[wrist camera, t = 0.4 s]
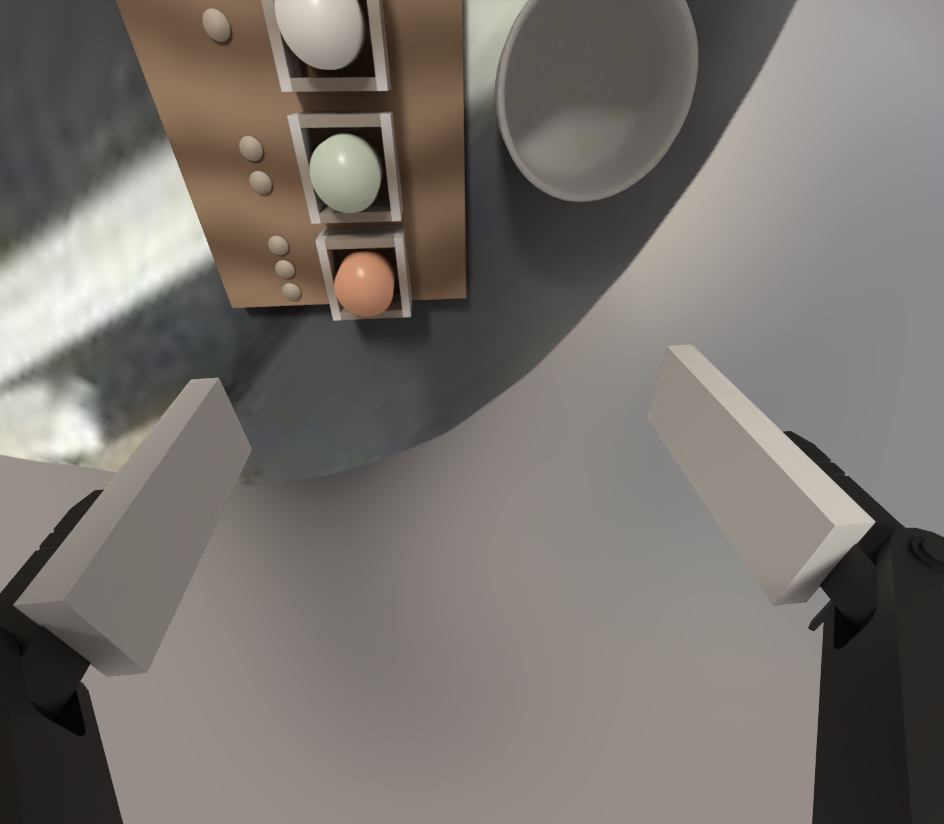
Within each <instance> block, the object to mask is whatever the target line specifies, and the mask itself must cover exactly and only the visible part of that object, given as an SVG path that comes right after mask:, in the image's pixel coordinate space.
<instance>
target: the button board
mask: <svg viewBox="0 0 944 824" xmlns="http://www.w3.org/2000/svg"><path fill="white" fill-rule="evenodd" d="M358 1H359V3H360V5H361V8H362V10H363V14H364V19H365V27H366V36H365V42H364V46H363V49H362V52H361V53H360V55H359V57H358V58H357V60H356V61H355V62H354V63H353V64H351V65H350V66H348V67H346V68H344V69H339V70H326V69H318V68H315V67H312V66H310V65H308V64H307V63H305V62H304V61H302V60H301V59H300V58H299V57H298V56H296V55H295V53H294V52H293V51H292V50H291V49H290V47H289V46H288V45H287V43H286V41H285V40H284V38H283V36H282V34H281V31H280V29H279V26H278V23H277V19H276V14H275V3H274V2H275V0H116V2H117V4H118V7H119V10H120V12H121V15H122V18H123V20H124V23H125V26H126V28H127V31H128V33H129V36H130V39H131V41H132V44H133V47H134V49H135V52H136V55H137V57H138V60H139V62H140V65H141V68H142V70H143V73H144V76H145V78H146V81H147V84H148V86H149V89H150V92H151V94H152V97H153V99H154V102H155V105H156V107H157V110H158V113H159V115H160V118H161V121H162V123H163V126H164V128H165V131H166V134H167V136H168V139H169V142H170V144H171V147H172V150H173V152H174V155H175V157H176V160H177V163H178V165H179V168H180V171H181V173H182V176H183V179H184V181H185V184H186V186H187V189H188V192H189V194H190V197H191V200H192V202H193V205H194V208H195V210H196V213H197V215H198V218H199V221H200V223H201V226H202V229H203V231H204V234H205V237H206V239H207V242H208V244H209V247H210V250H211V252H212V255H213V258H214V260H215V263H216V266H217V268H218V271H219V274H220V276H221V279H222V281H223V284H224V287H225V289H226V292H227V295H228V297H229V300H230V303H231V305H232V308H242V307H266V306H290V305H313V304H330V308H331V312H332V317H333V320H354V319H377V318H399V317H411V306H412V300H432V299H456V298H466V242H465V171H464V99H463V28H462V0H358ZM340 132H352V133H356V134H359V135H361V136H362V137H364V138H365V139H367V140H368V141H369V142H370V143H371V144H372V145H373V146H374V148H375V149H376V151H377V152H378V154H379V157H380V159H381V163H382V168H383V177H382V182H381V185H380V187H379V190H378V193H377V195H376V197H375V199H374V201H373V202H372V204H371V205H370V206H369V207H367V208H366V209H364V210H362V211H360V212H357V213H343V212H340V211H337V210H335V209H333V208H331V207H329V206H328V205H327V204H326V203H325V202H323V201H322V199H321V198H320V197H319V196H318V194H317V193H316V191H315V189H314V187H313V185H312V182H311V178H310V161H311V157H312V155H313V153H314V151H315V149H316V148H317V147H318V146H319V145H320V144H321V143H322V142H324V141H325V140H327V139H328V138H330V137H331V136H333V135H334V134H337V133H340ZM357 248H374V249H376V250H379V251H380V252H382V253H383V254H385V255H386V256H387V257H388V259H389V260H390V261H391V263H392V265H393V267H394V270H395V283H394V291H393V297H392V301H391V303H390V305H389V306H388V308H387V309H386V310H385V311H383V312H382V313H380V314H378V315H375V316H369V317H364V316H359V315H356V314H353V313H351V312H350V311H348V310H347V309H345V308H344V307H343V306H342V305H341V303H340V302H339V300H338V299H337V297H336V294H335V290H334V282H335V278H336V275H337V273H338V271H339V268H340V266H341V263H342V261H343V259H344V258H345V256H346V255H347V254H348V253H349V252H350V251H352V250H354V249H357Z"/></svg>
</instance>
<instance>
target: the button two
mask: <svg viewBox="0 0 944 824" xmlns="http://www.w3.org/2000/svg"><path fill="white" fill-rule="evenodd" d="M382 177H383V168H382V163H381V159H380V157H379V154H378V152H377V151H376V149H375V148H374V146H373V145H372V144H371V143H370V142H369V141H368V140H367V139H365V138H364V137H362V136H361V135H359V134H356V133H352V132H340V133H337V134H334V135H333V136H331V137H330V138H328V139H327V140H325V141H324V142H322V143H321V144H320V145H319V146H318V147H317V148H316V149H315V151H314V153H313V155H312V157H311V161H310V178H311V182H312V185H313V187H314V189H315V191H316V193H317V194H318V196H319V197H320V198H321V199H322V201H323V202H325V203H326V204H327V205H328V206H329V207H331V208H333V209H335V210H337V211H340V212H343V213H357V212H360V211H362V210H364V209H366V208H367V207H369V206H370V205H371V204H372V202H373V201H374V199H375V197H376V195H377V193H378V190H379V187H380V185H381V182H382Z"/></svg>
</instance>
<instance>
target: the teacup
mask: <svg viewBox="0 0 944 824" xmlns="http://www.w3.org/2000/svg"><path fill="white" fill-rule="evenodd" d="M698 50H699V49H698V42H697V35H696V30H695V26H694V22H693V19H692V15H691V12H690V10H689V7H688V5H687V3H686V0H528V1H527V3H526V4H525V6H524V7H523V8H522V10H521V11H520V13H519V15H518V17H517V18H516V20H515V22H514V24H513V26H512V28H511V30H510V33H509V35H508V37H507V40H506V42H505V45H504V47H503V50H502V53H501V57H500V60H499V64H498V68H497V74H496V82H495V109H496V116H497V121H498V125H499V129H500V132H501V135H502V138H503V140H504V143H505V145H506V147H507V149H508V151H509V153H510V155H511V157H512V159H513V161H514V163H515V164H516V166H517V167H518V169H519V170H520V171H521V173H522V174H523V175H524V176H525V177H526V178H527V179H528V180H529V181H530V182H531V183H532V184H533V185H534V186H536V187H537V188H538V189H540V190H541V191H543V192H545V193H546V194H548V195H550V196H552V197H555V198H558V199H561V200H564V201H573V202H585V201H593V200H600V199H604V198H607V197H610V196H613V195H615V194H617V193H619V192H621V191H623V190H625V189H627V188H629V187H630V186H632V185H633V184H635V183H637V182H638V181H639V180H640V179H642V178H643V177H644V176H645V175H646V174H647V173H648V172H649V171H650V170H652V169H653V168H654V167H655V166H656V165H657V164H658V163H659V162H660V161H661V159H662V157H663V156H664V155H665V154H666V152H667V151H668V150H669V148H670V145H671V144H672V143H673V142H674V139H675V138H676V136H677V135H678V133H679V132H680V129H681V127H682V125H683V123H684V121H685V119H686V117H687V114H688V112H689V109H690V106H691V103H692V99H693V94H694V90H695V86H696V81H697V73H698Z"/></svg>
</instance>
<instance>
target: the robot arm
mask: <svg viewBox="0 0 944 824" xmlns="http://www.w3.org/2000/svg"><path fill="white" fill-rule="evenodd" d="M647 419H648V421H649V422H650V423H651V425H652V426H653V428H654V430H655V431H656V433H657V434H658V435H659V437H660V438H661V440H662V441H663V443H664V444H665V446H666V447H667V449H668V450H669V452H670V453H671V455H672V456H673V458H674V459H675V461H676V462H677V463H678V465H679V467H680V468H681V470H682V471H683V473H684V474H685V475H686V477H687V479H688V480H689V482H690V483H691V484H692V485H693V487H694V489H695V490H696V492H697V493H698V495H699V496H700V498H701V499H702V501H703V502H704V504H705V505H706V507H707V508H708V510H709V511H710V512H711V514H712V516H713V517H714V519H715V520H716V522H717V523H718V525H719V526H720V528H721V529H722V531H723V532H724V533H725V535H726V536H727V538H728V539H729V541H730V542H731V544H732V545H733V547H734V548H735V550H736V551H737V553H738V554H739V556H740V557H741V559H742V560H743V562H744V563H745V565H746V566H747V568H748V569H749V571H750V572H751V574H752V575H753V577H754V578H755V579H756V581H757V582H758V584H759V585H760V587H761V588H762V590H763V591H764V593H765V594H766V596H767V597H768V599H769V600H770V601H771V603H772V605H784V604H792V603H802V602H807V601H808V600H809V598H810V597H811V596H812V595H813V594H814V593H815V592H816V590H817V589H818V588H819V587H821V588H822V589H823V590H824V592H825V593H826V594H827V595H828V597H829V598H830V599H831V600H830V601H829V602H828V603H827V605H825V606H824V608H823V609H822V610H821V611H820V612H819V613H818V614H817V615H816V616H815V617H814V619H813V620H812V621H811V623H810V625H809V627H808V628H809V629H810V630H812V631H815V630H816V629H817V628H818V627H819V626H820V625H821V624H822V623H823V622H824V626H823V644H822V661H821V679H820V696H819V714H818V732H817V749H816V767H815V784H814V801H813V818H812V824H944V537H942V536H940V535H938V534H935V533H933V532H930V531H926V530H922V529H918V528H905V527H904V526H903V525H901V524H900V523H899V522H898V521H897V520H896V519H895V518H894V517H893V516H892V515H891V514H889V513H888V512H887V511H886V510H885V509H884V508H883V507H882V506H881V505H880V504H879V503H877V502H876V501H875V500H874V499H873V498H872V497H871V496H870V495H869V494H868V493H866V492H865V491H864V490H863V489H862V488H861V487H860V486H859V485H858V484H857V483H856V482H855V481H853V480H852V479H851V478H850V477H849V476H845V472H844V471H842V470H841V469H840V468H839V467H838V466H837V465H836V464H835V463H831V461H830V460H831V459H829V458H828V457H827V456H826V455H825V454H824V453H823V452H822V451H821V450H820V449H818V448H817V447H816V446H815V445H814V444H813V443H811V442H809V441H807V440H806V439H804V438H802V437H801V436H799V435H797V434H795V433H793V432H792V431H786V432H782V431H781V430H780V429H779V428H778V427H777V426H776V425H775V424H774V423H773V422H772V421H771V420H770V419H768V418H767V417H766V416H765V415H764V414H763V413H762V412H761V411H760V410H759V409H758V408H757V407H756V406H755V405H754V404H753V403H752V402H751V401H750V400H748V398H747V397H746V396H745V395H744V394H743V393H741V392H740V391H739V390H738V389H737V388H736V387H735V386H734V385H733V384H732V383H731V382H730V381H729V380H728V379H727V378H726V377H725V376H724V375H723V374H721V372H719V370H718V369H717V368H716V367H714V366H713V365H712V364H711V363H710V362H709V361H708V360H707V359H706V358H705V357H704V356H703V355H702V354H701V353H700V352H699V351H698V350H697V349H696V348H695V347H694V346H693V345H691V344H690V345H675V346H667V348H666V351H665V355H664V358H663V362H662V366H661V369H660V372H659V376H658V379H657V383H656V387H655V390H654V394H653V397H652V401H651V404H650V408H649V412H648V415H647ZM251 450H252V449H251V447H250V444H249V442H248V440H247V438H246V436H245V434H244V431H243V429H242V427H241V425H240V423H239V421H238V418H237V416H236V414H235V412H234V410H233V408H232V405H231V403H230V401H229V399H228V397H227V395H226V392H225V390H224V388H223V386H222V384H221V382H220V379H219V378H208V379H194V380H190V382H189V383H188V384H187V385H186V387H185V388H184V389H183V390H182V392H181V393H180V394H179V395H178V397H177V398H176V399H175V401H174V402H173V403H172V404H171V406H170V407H169V408H168V409H167V411H166V412H165V413H164V415H163V416H162V417H161V418H160V420H159V421H158V422H157V423H156V425H155V426H154V427H153V428H152V430H151V431H150V432H149V434H148V435H147V436H146V437H145V439H144V440H143V441H142V442H141V444H140V445H139V446H138V447H137V449H136V450H135V451H134V453H133V454H132V455H131V456H130V458H129V459H128V460H127V461H126V463H125V464H124V465H123V467H122V468H121V469H120V470H119V472H118V473H117V474H116V475H115V477H114V478H113V479H112V480H111V482H110V483H109V484H108V486H107V487H106V488H105V489H104V490H95V491H93V492H92V493H91V494H89V495H88V496H87V497H85V498H84V499H83V500H81V501H80V502H79V503H77V504H76V505H75V506H74V507H72V508H71V509H70V510H69V511H68V513H67V514H66V515H65V516H64V517H63V519H62V520H61V521H60V522H59V523H58V524H57V526H56V527H55V528H54V533H50V534H49V535H48V536H47V538H46V539H45V540H44V541H43V542H42V544H41V545H40V546H39V547H40V549H39V550H38V551H35V552H34V553H33V555H32V556H31V557H30V558H29V559H28V561H27V562H26V563H25V564H24V565H23V567H22V568H21V569H20V570H19V571H18V573H17V574H16V575H15V576H14V577H13V579H12V580H11V581H10V582H9V583H8V585H7V586H6V587H5V588H4V589H3V591H2V592H1V593H0V824H123V822H122V818H121V814H120V810H119V806H118V802H117V798H116V795H115V791H114V787H113V783H112V779H111V775H110V771H109V768H108V764H107V760H106V756H105V752H104V749H103V745H102V741H101V737H100V733H99V729H98V725H97V722H96V718H95V714H94V710H93V706H92V702H91V698H90V695H89V691H88V690H87V688H86V687H85V685H84V684H83V683H82V682H80V681H81V679H82V678H83V676H84V674H85V672H86V671H87V669H88V667H89V665H90V664H91V665H92V666H94V667H95V668H96V669H97V670H99V671H100V672H101V673H103V674H104V675H105V676H107V677H110V676H120V675H130V674H138V673H147V672H148V669H149V667H150V665H151V663H152V661H153V659H154V657H155V654H156V653H157V650H158V648H159V646H160V644H161V642H162V640H163V638H164V635H165V633H166V631H167V629H168V627H169V625H170V623H171V620H172V618H173V616H174V614H175V612H176V610H177V608H178V605H179V603H180V601H181V599H182V597H183V595H184V593H185V590H186V588H187V586H188V584H189V582H190V580H191V578H192V576H193V574H194V571H195V569H196V567H197V565H198V563H199V561H200V559H201V557H202V555H203V552H204V550H205V548H206V546H207V544H208V542H209V540H210V537H211V535H212V533H213V531H214V529H215V527H216V525H217V522H218V520H219V518H220V516H221V514H222V512H223V510H224V508H225V506H226V503H227V501H228V499H229V497H230V495H231V493H232V490H233V489H234V486H235V484H236V482H237V480H238V478H239V476H240V474H241V472H242V469H243V467H244V465H245V463H246V461H247V459H248V457H249V454H250V452H251Z"/></svg>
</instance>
